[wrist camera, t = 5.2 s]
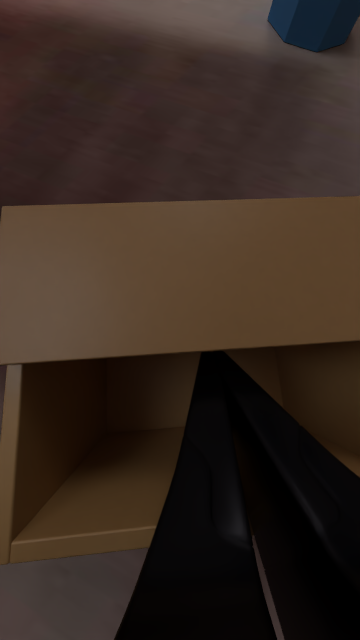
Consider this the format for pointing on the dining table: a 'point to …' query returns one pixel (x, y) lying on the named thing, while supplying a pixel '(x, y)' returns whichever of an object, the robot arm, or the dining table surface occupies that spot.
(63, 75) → the dining table surface
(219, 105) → the dining table surface
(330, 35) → the water bottle
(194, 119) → the dining table surface
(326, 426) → the kraft bin
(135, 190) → the dining table surface
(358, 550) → the robot arm
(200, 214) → the bin flap
